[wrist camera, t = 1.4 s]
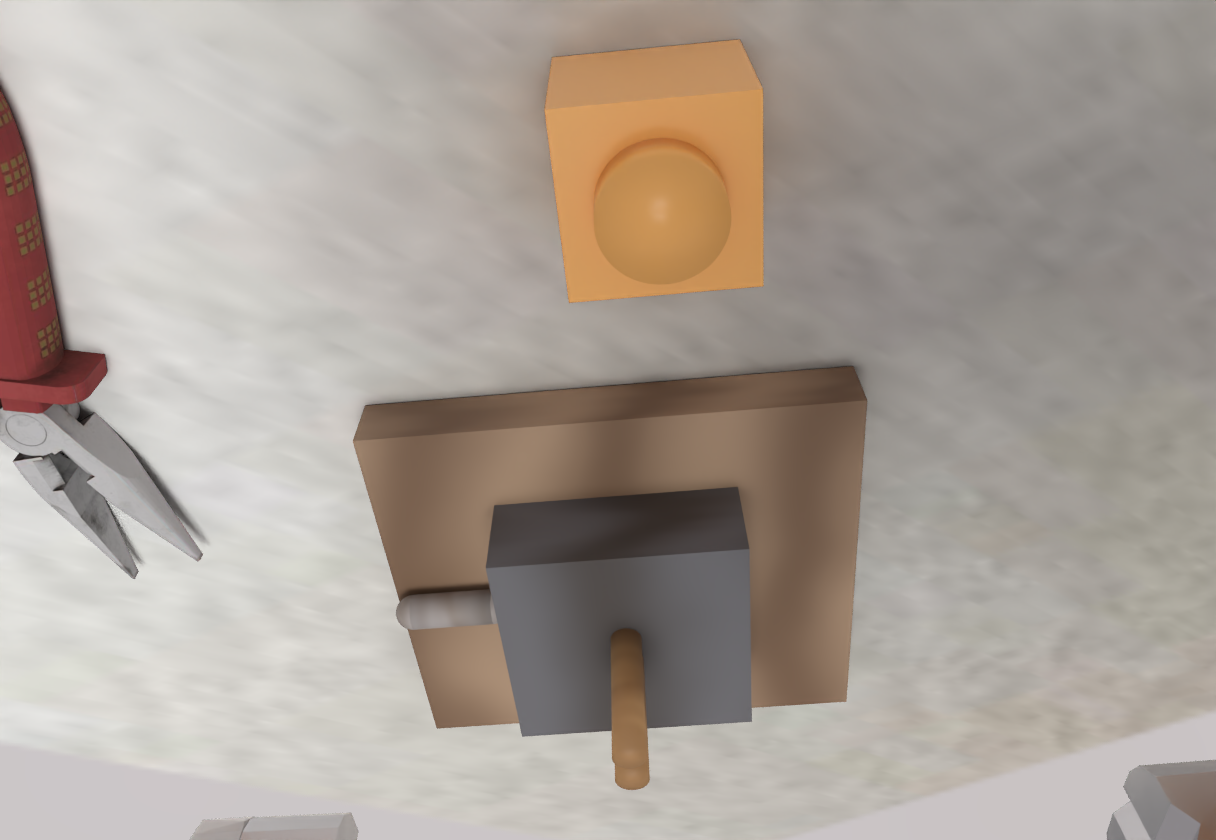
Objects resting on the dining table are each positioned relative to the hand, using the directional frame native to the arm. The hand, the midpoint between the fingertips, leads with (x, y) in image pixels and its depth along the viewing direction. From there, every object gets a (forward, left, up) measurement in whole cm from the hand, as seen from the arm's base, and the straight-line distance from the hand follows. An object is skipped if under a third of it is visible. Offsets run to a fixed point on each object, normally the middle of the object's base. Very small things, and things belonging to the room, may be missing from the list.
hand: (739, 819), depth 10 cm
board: (+2, +15, -21) cm, 26 cm away
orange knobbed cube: (0, 0, -21) cm, 21 cm away
